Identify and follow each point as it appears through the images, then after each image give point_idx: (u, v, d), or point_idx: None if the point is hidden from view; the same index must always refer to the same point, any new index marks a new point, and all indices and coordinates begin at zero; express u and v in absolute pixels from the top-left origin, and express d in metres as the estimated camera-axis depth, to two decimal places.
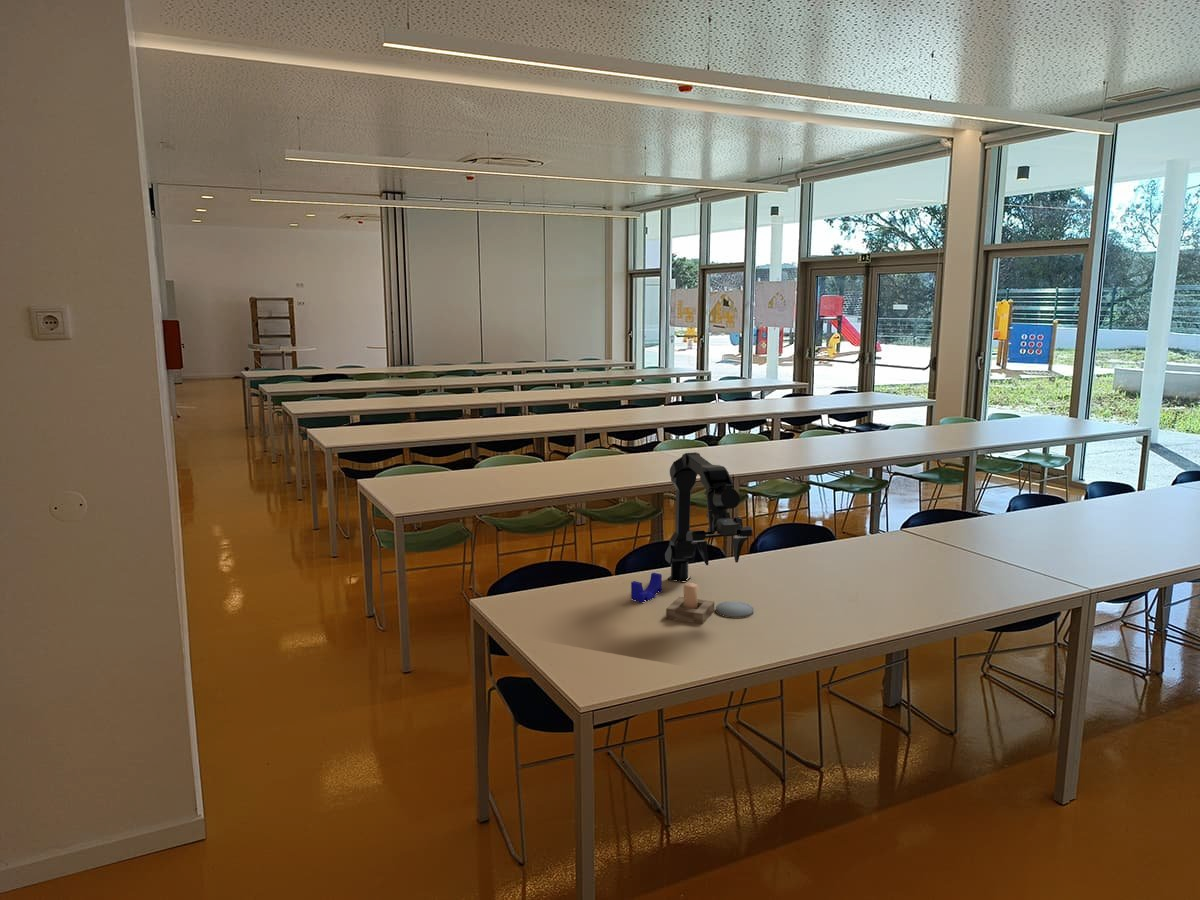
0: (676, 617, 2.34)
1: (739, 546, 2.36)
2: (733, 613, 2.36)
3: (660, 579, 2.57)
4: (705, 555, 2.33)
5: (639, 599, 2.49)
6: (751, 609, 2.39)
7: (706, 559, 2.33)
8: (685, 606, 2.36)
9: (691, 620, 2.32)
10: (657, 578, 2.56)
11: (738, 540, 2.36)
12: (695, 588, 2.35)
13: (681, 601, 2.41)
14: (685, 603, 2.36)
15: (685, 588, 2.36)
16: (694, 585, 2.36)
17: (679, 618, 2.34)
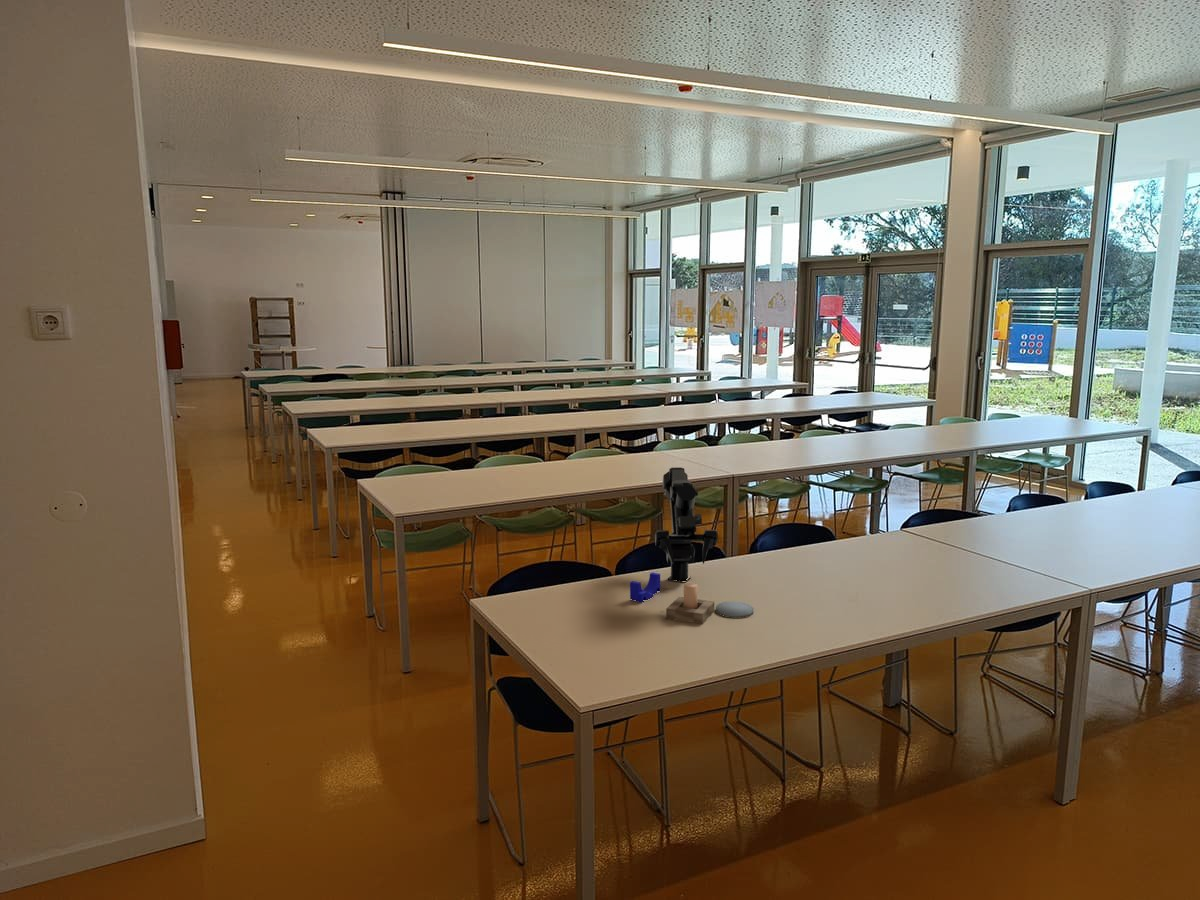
0: (676, 617, 2.34)
1: (705, 547, 2.45)
2: (733, 613, 2.36)
3: (659, 578, 2.57)
4: (670, 553, 2.44)
5: (638, 599, 2.49)
6: (751, 609, 2.39)
7: (671, 557, 2.44)
8: (685, 606, 2.36)
9: (691, 620, 2.32)
10: (656, 578, 2.57)
11: (703, 541, 2.46)
12: (695, 588, 2.35)
13: (681, 601, 2.41)
14: (685, 603, 2.36)
15: (685, 588, 2.36)
16: (694, 585, 2.36)
17: (679, 618, 2.34)
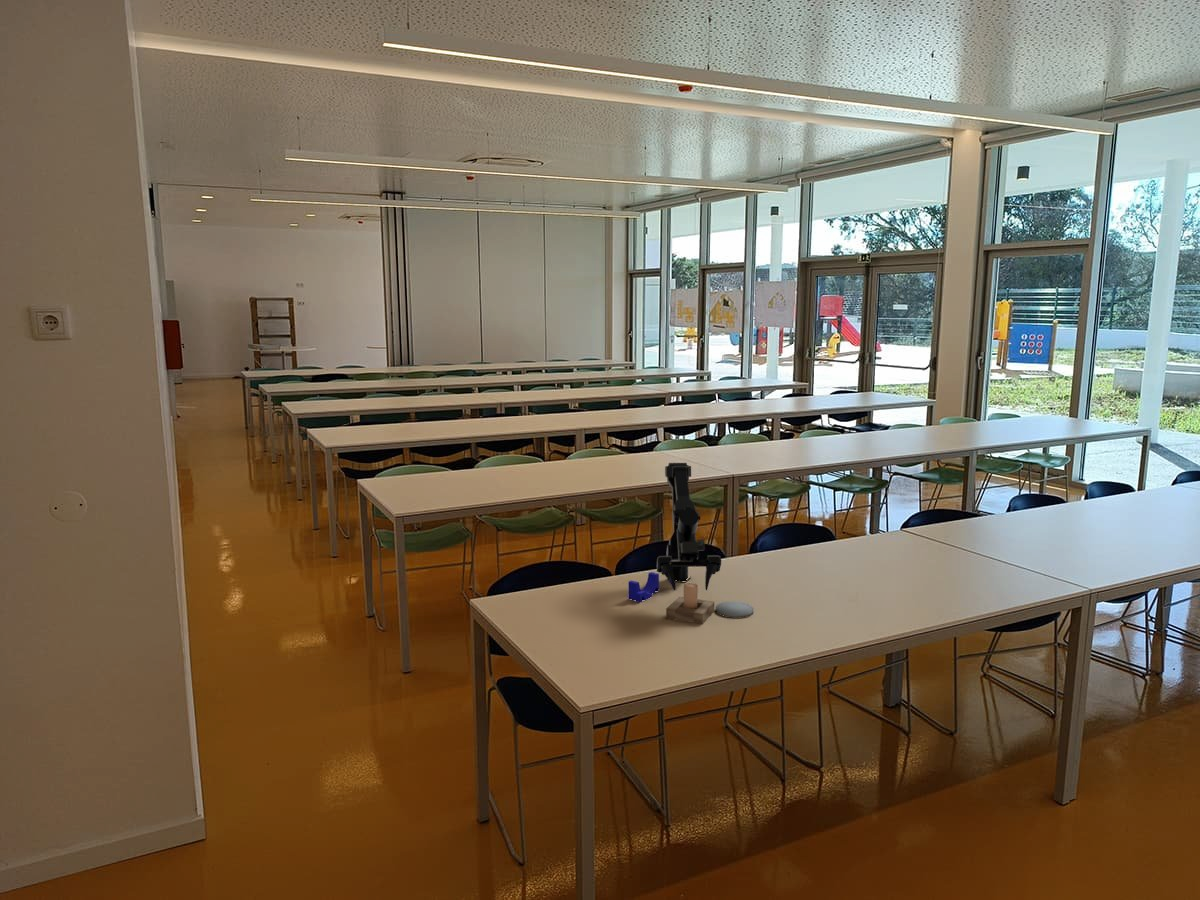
0: (676, 617, 2.34)
1: (708, 573, 2.38)
2: (733, 613, 2.36)
3: (657, 578, 2.58)
4: (672, 579, 2.37)
5: (636, 598, 2.49)
6: (751, 609, 2.39)
7: (673, 583, 2.37)
8: (685, 606, 2.36)
9: (691, 620, 2.32)
10: (654, 577, 2.57)
11: (706, 567, 2.39)
12: (695, 588, 2.35)
13: (681, 601, 2.41)
14: (685, 603, 2.36)
15: (685, 588, 2.36)
16: (694, 585, 2.36)
17: (679, 618, 2.34)
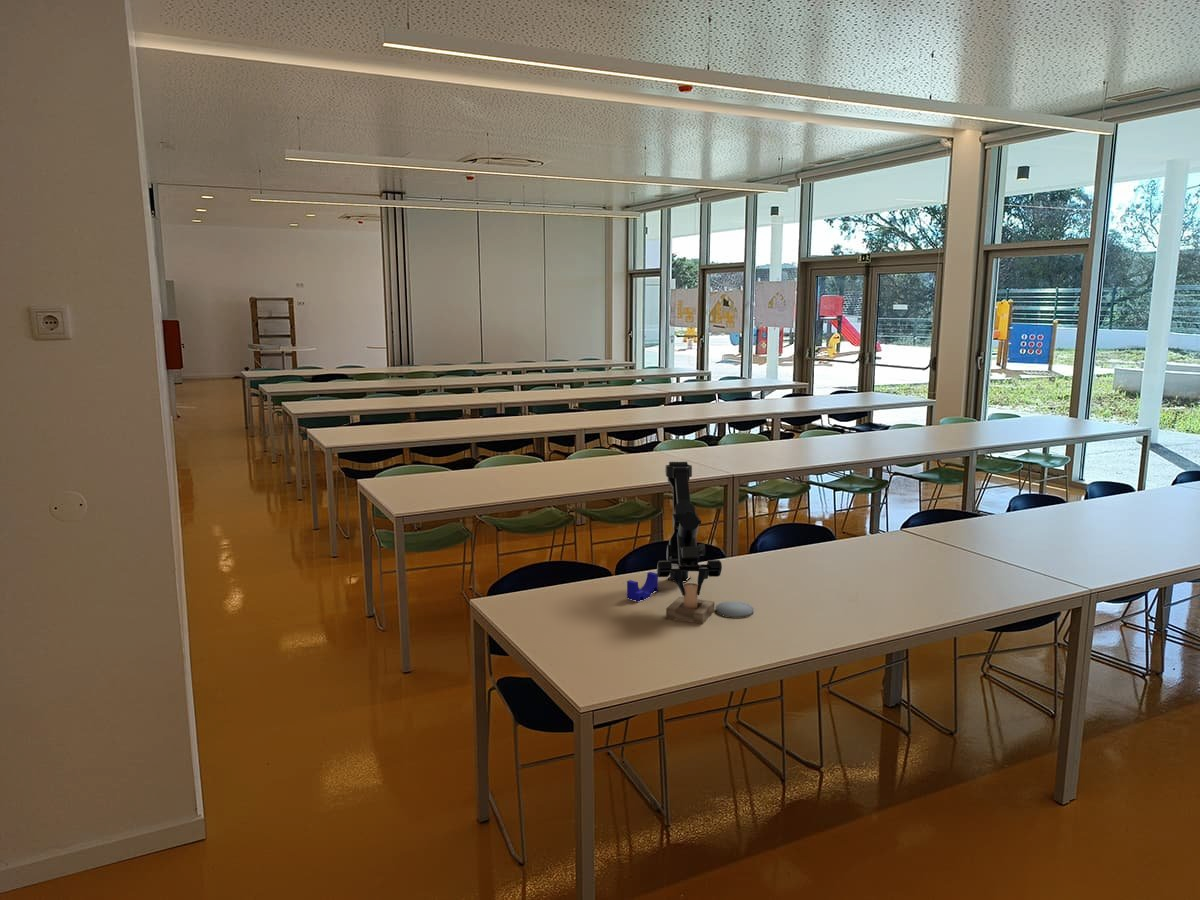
0: (676, 617, 2.34)
1: (700, 578, 2.37)
2: (733, 613, 2.36)
3: (656, 578, 2.58)
4: (680, 584, 2.36)
5: (635, 598, 2.50)
6: (751, 609, 2.39)
7: (682, 588, 2.36)
8: (685, 606, 2.36)
9: (691, 620, 2.32)
10: (653, 577, 2.57)
11: (699, 572, 2.38)
12: (695, 588, 2.35)
13: (681, 601, 2.41)
14: (685, 603, 2.36)
15: (685, 588, 2.36)
16: (694, 585, 2.36)
17: (679, 618, 2.34)
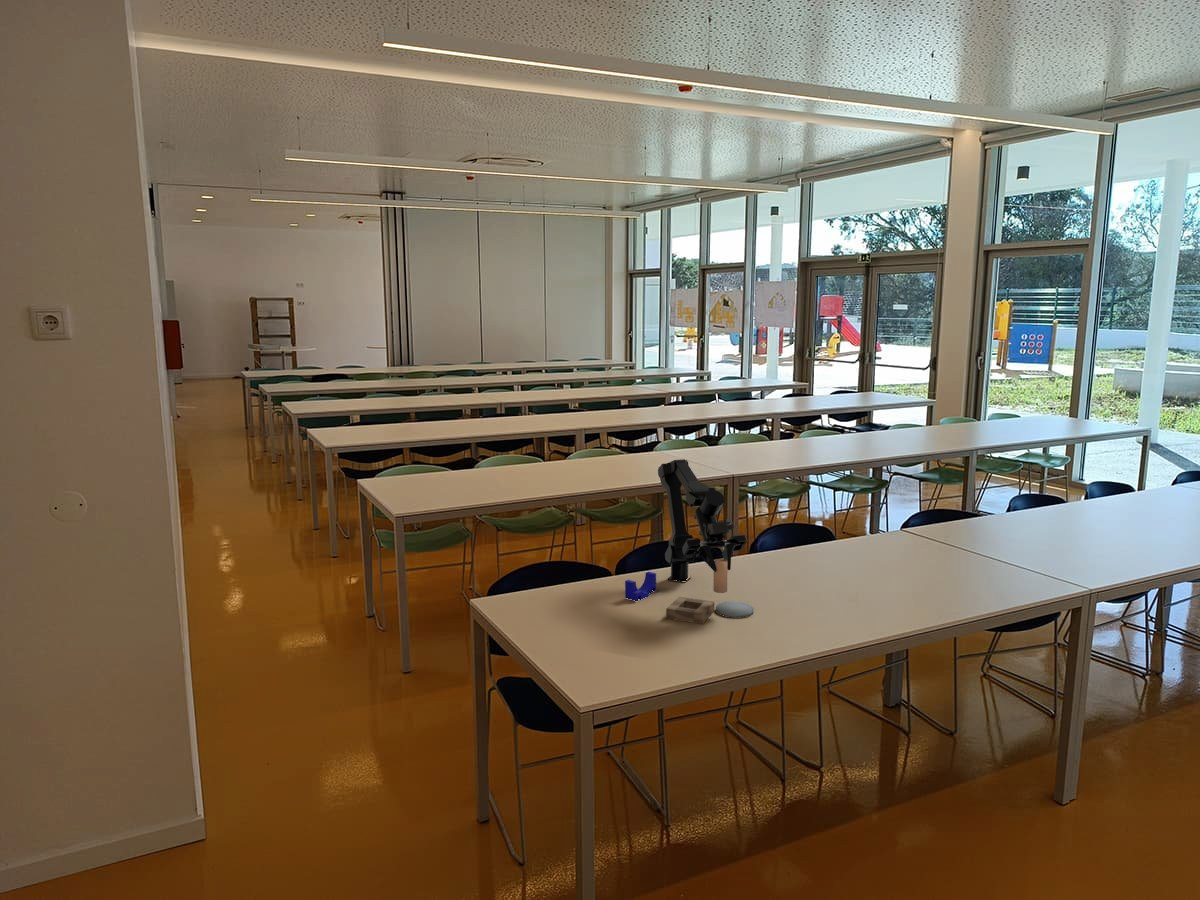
0: (676, 617, 2.34)
1: (728, 553, 2.38)
2: (733, 613, 2.36)
3: (654, 578, 2.58)
4: (711, 560, 2.36)
5: (633, 598, 2.50)
6: (751, 609, 2.39)
7: (713, 564, 2.35)
8: (717, 582, 2.36)
9: (691, 620, 2.32)
10: (651, 577, 2.57)
11: (726, 547, 2.39)
12: (726, 563, 2.35)
13: (681, 601, 2.41)
14: (717, 579, 2.36)
15: (717, 564, 2.35)
16: (724, 560, 2.37)
17: (679, 618, 2.34)
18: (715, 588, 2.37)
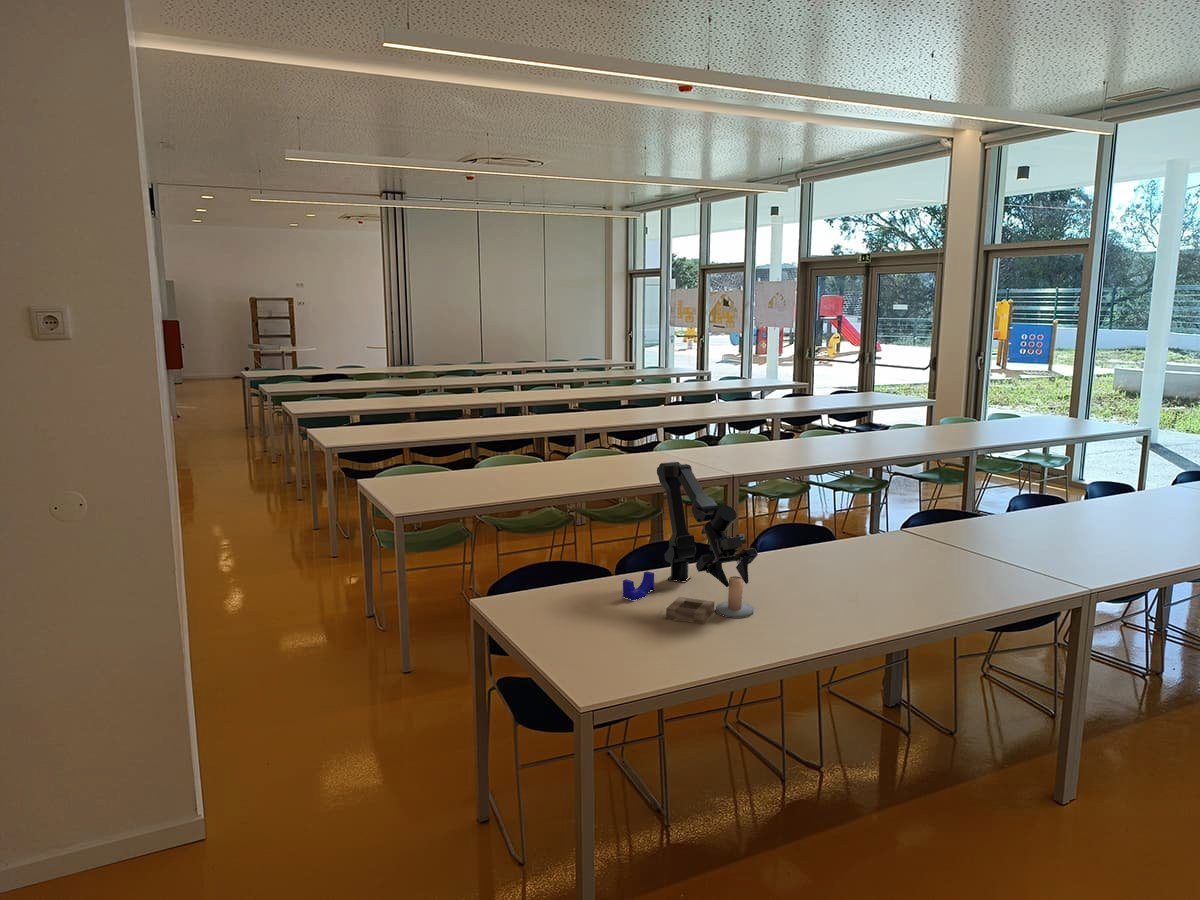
0: (676, 617, 2.34)
1: (745, 566, 2.41)
2: (733, 613, 2.36)
3: (652, 577, 2.58)
4: (723, 576, 2.37)
5: (630, 597, 2.50)
6: (751, 609, 2.39)
7: (725, 580, 2.37)
8: (732, 600, 2.38)
9: (691, 620, 2.32)
10: (649, 577, 2.58)
11: (742, 561, 2.42)
12: (742, 581, 2.38)
13: (681, 601, 2.41)
14: (732, 597, 2.38)
15: (733, 582, 2.37)
16: (739, 578, 2.39)
17: (679, 618, 2.34)
18: (730, 605, 2.39)
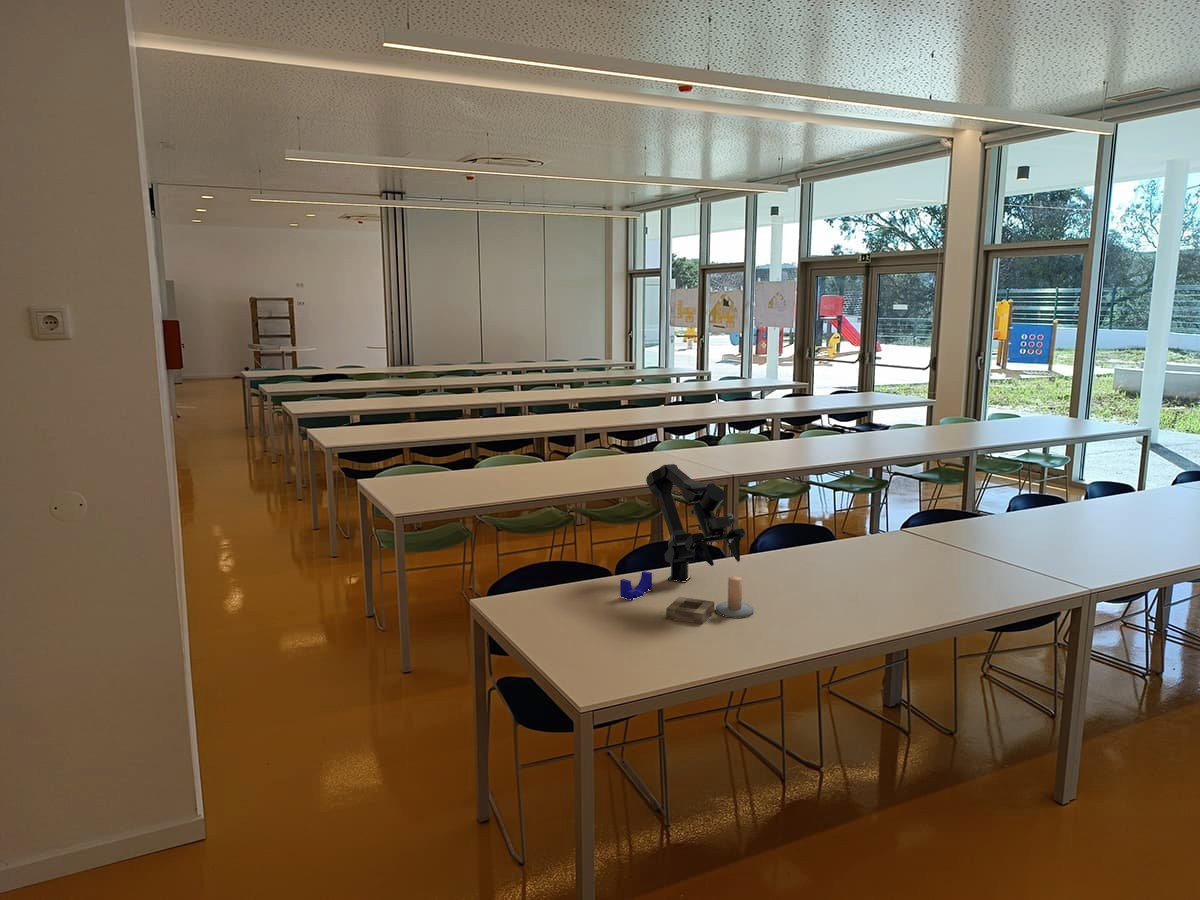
0: (676, 617, 2.34)
1: (737, 545, 2.46)
2: (733, 613, 2.36)
3: (650, 577, 2.59)
4: (708, 555, 2.42)
5: (628, 597, 2.51)
6: (751, 609, 2.39)
7: (710, 559, 2.41)
8: (732, 600, 2.38)
9: (691, 620, 2.32)
10: (647, 576, 2.58)
11: (734, 540, 2.47)
12: (741, 581, 2.38)
13: (681, 601, 2.41)
14: (732, 597, 2.38)
15: (732, 582, 2.37)
16: (738, 578, 2.39)
17: (679, 618, 2.34)
18: (730, 606, 2.39)
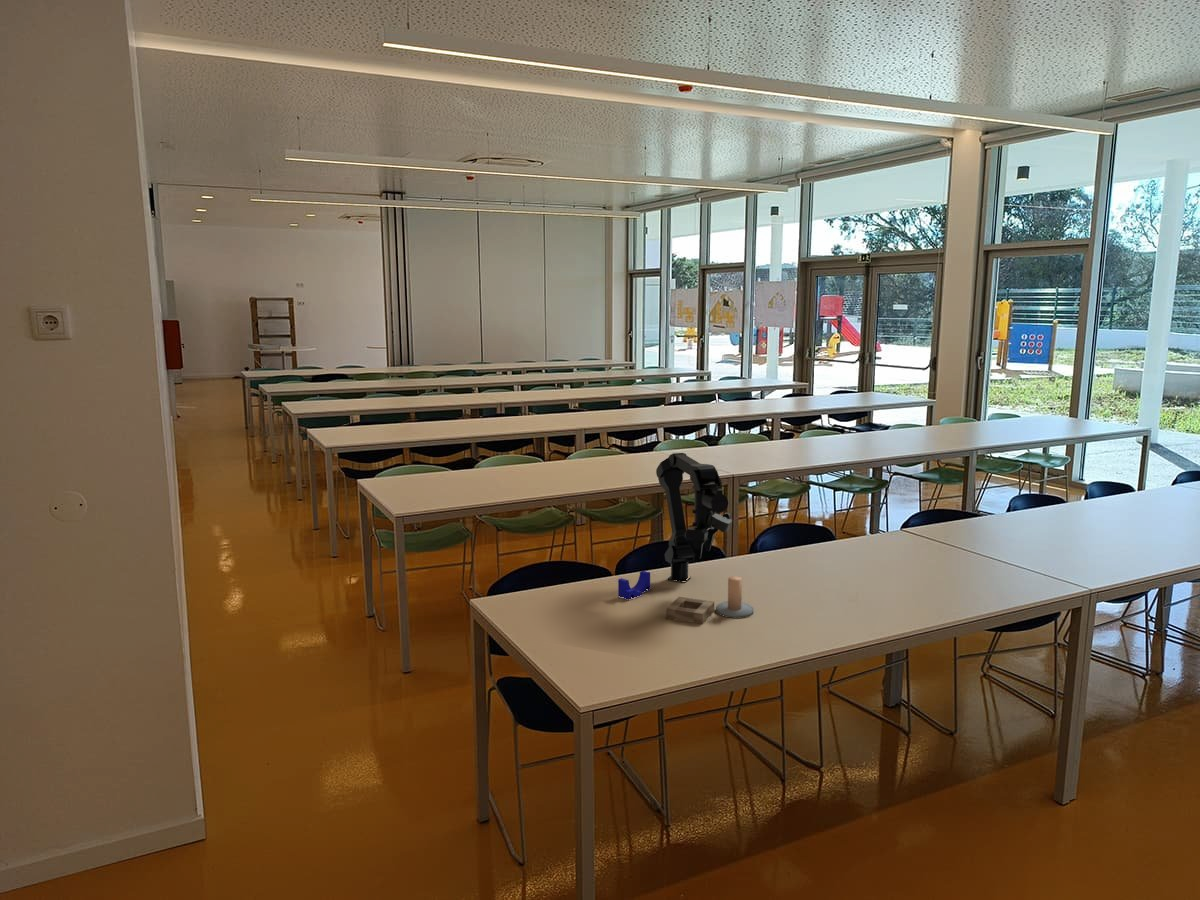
0: (676, 617, 2.34)
1: (712, 536, 2.56)
2: (733, 613, 2.36)
3: (649, 577, 2.59)
4: (701, 550, 2.47)
5: (625, 596, 2.51)
6: (751, 609, 2.39)
7: (700, 554, 2.48)
8: (732, 600, 2.38)
9: (691, 620, 2.32)
10: (645, 576, 2.59)
11: (713, 531, 2.56)
12: (741, 581, 2.38)
13: (681, 601, 2.41)
14: (732, 597, 2.38)
15: (732, 582, 2.37)
16: (738, 578, 2.39)
17: (679, 618, 2.34)
18: (730, 606, 2.39)
